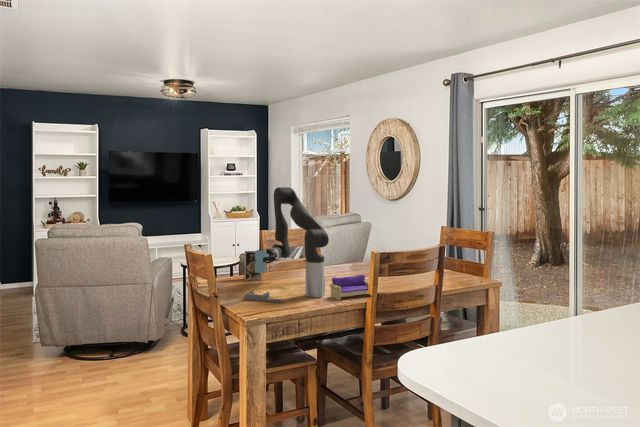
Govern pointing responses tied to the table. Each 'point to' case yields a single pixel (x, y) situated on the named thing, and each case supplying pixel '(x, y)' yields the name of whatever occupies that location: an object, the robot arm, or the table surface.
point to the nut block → (260, 261)
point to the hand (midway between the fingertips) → (258, 260)
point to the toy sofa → (348, 286)
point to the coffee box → (250, 267)
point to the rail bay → (260, 297)
